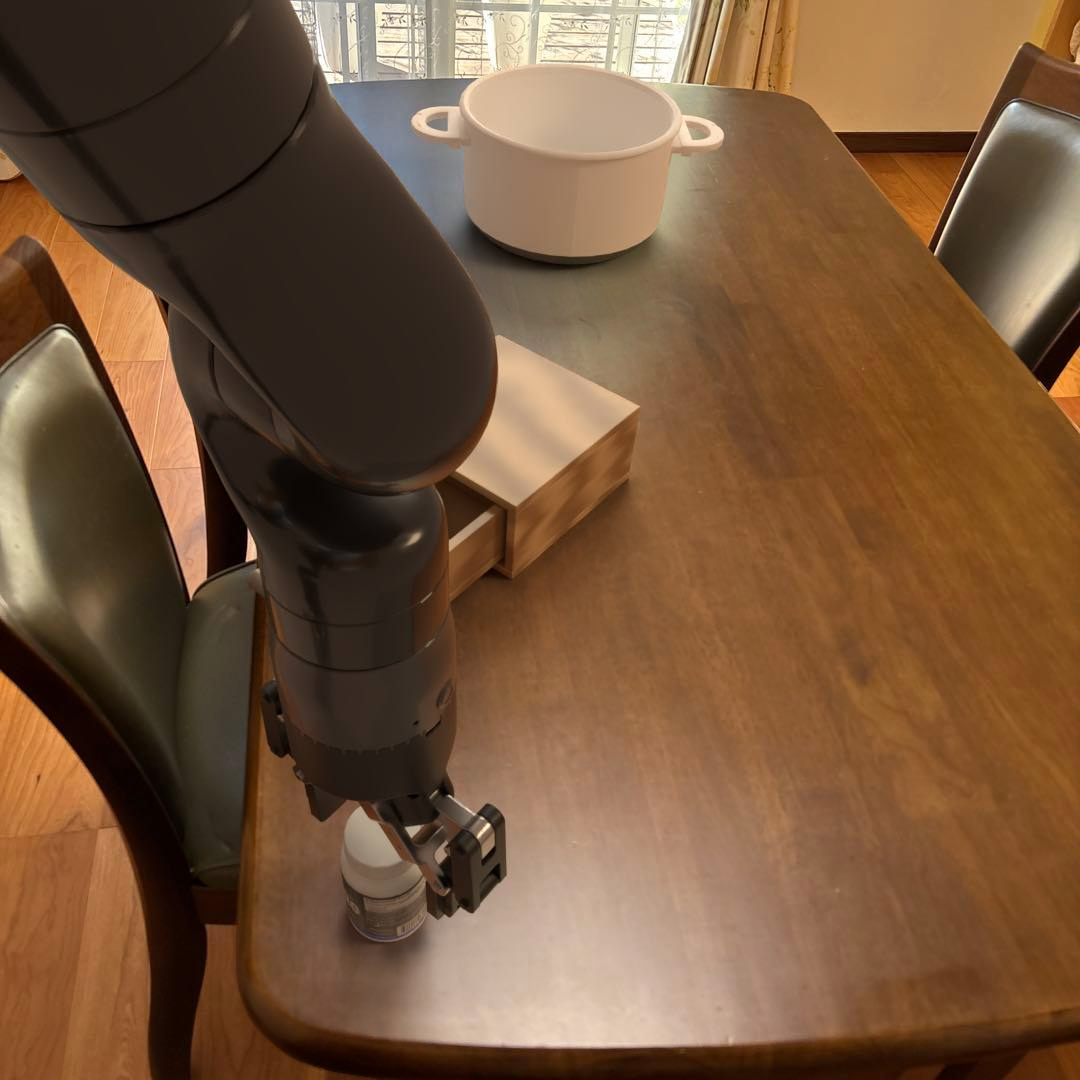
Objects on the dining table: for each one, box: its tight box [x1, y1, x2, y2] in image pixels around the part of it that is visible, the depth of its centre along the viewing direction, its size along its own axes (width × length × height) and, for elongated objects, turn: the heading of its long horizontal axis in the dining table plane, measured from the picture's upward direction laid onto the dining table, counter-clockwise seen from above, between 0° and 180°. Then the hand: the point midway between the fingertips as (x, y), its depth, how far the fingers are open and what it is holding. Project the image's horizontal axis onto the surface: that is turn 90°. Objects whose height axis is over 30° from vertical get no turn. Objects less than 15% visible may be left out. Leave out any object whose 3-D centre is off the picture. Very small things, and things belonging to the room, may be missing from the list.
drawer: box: [246, 475, 508, 603], centre depth 74 cm, size 19×13×6 cm
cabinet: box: [450, 334, 641, 581], centre depth 82 cm, size 16×15×8 cm
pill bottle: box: [339, 806, 428, 943], centre depth 56 cm, size 5×5×8 cm
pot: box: [410, 63, 725, 265], centre depth 111 cm, size 33×23×14 cm
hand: (387, 854), depth 55 cm, fingers open, 8 cm apart
